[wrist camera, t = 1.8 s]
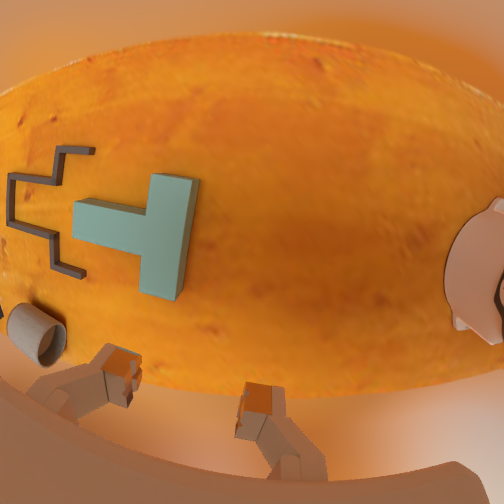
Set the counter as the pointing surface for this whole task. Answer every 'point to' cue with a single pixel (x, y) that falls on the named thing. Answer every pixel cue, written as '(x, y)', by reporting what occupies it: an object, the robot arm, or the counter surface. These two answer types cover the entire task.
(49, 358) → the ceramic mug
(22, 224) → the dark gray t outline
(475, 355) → the counter surface
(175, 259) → the teal T block
